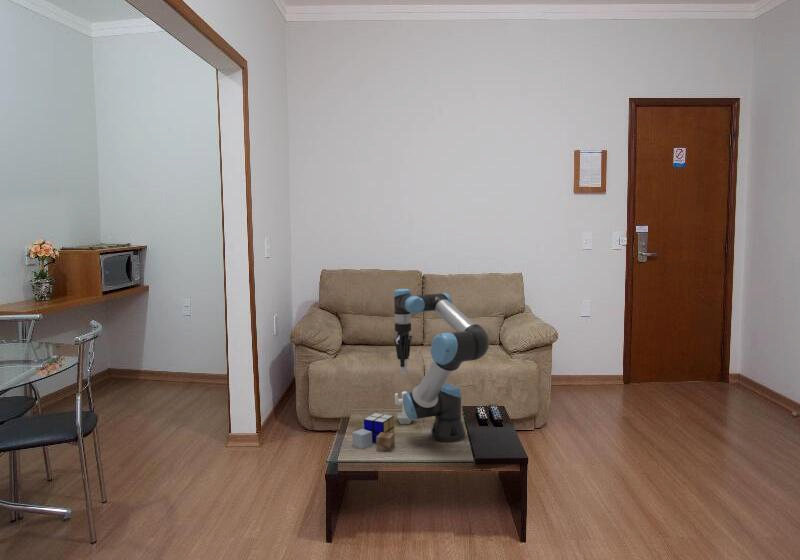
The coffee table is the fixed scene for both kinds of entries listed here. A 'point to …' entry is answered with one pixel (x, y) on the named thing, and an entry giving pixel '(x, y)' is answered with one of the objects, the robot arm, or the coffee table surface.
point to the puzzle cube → (379, 424)
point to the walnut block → (385, 442)
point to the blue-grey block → (362, 438)
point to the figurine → (402, 416)
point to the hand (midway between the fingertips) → (403, 373)
